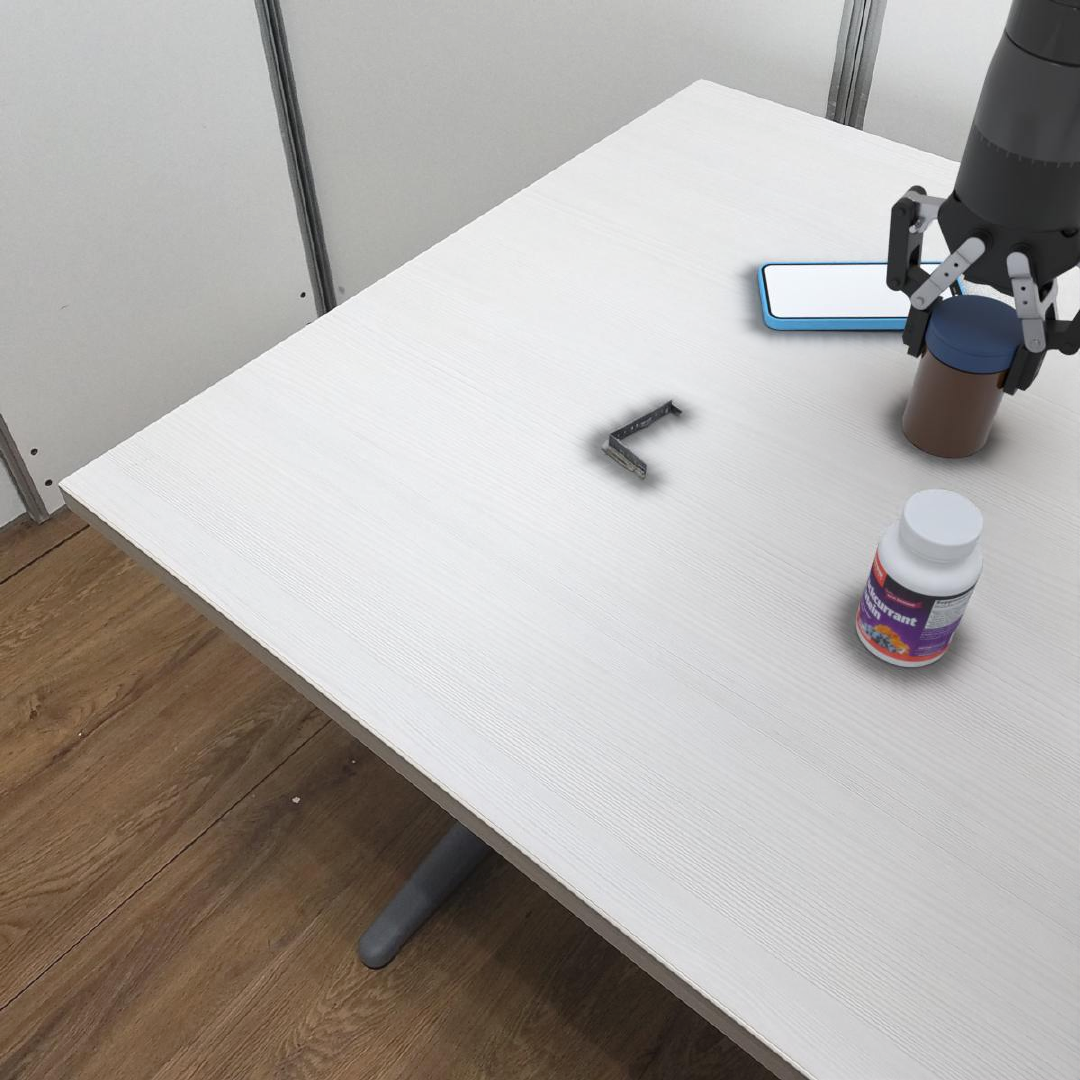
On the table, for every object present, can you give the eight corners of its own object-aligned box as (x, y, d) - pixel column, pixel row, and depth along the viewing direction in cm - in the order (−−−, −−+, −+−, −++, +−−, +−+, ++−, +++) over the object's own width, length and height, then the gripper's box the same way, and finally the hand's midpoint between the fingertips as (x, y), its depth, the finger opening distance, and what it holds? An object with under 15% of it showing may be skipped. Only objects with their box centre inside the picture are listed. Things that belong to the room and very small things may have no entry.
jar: (999, 423, 78) (1037, 322, 72) (967, 469, 75) (1004, 368, 69) (922, 392, 80) (952, 291, 74) (887, 435, 77) (916, 335, 71)
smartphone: (757, 262, 90) (952, 261, 89) (756, 275, 91) (949, 273, 90) (767, 320, 85) (974, 319, 84) (765, 333, 85) (970, 332, 85)
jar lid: (1035, 338, 73) (1044, 316, 71) (1001, 386, 70) (1009, 364, 68) (947, 305, 75) (953, 283, 74) (909, 350, 72) (916, 328, 71)
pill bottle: (834, 616, 67) (868, 499, 60) (907, 584, 68) (949, 465, 61) (894, 684, 64) (938, 569, 56) (969, 648, 65) (1021, 531, 58)
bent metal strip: (675, 468, 73) (598, 458, 74) (673, 484, 74) (596, 474, 75) (684, 396, 78) (611, 388, 79) (682, 412, 79) (610, 403, 80)
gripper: (893, 111, 62) (836, 357, 75) (1164, 193, 56) (1054, 445, 69) (948, 60, 66) (885, 301, 79) (1207, 131, 61) (1095, 380, 73)
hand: (964, 368), depth 74 cm, fingers closed on jar lid, 5 cm apart
